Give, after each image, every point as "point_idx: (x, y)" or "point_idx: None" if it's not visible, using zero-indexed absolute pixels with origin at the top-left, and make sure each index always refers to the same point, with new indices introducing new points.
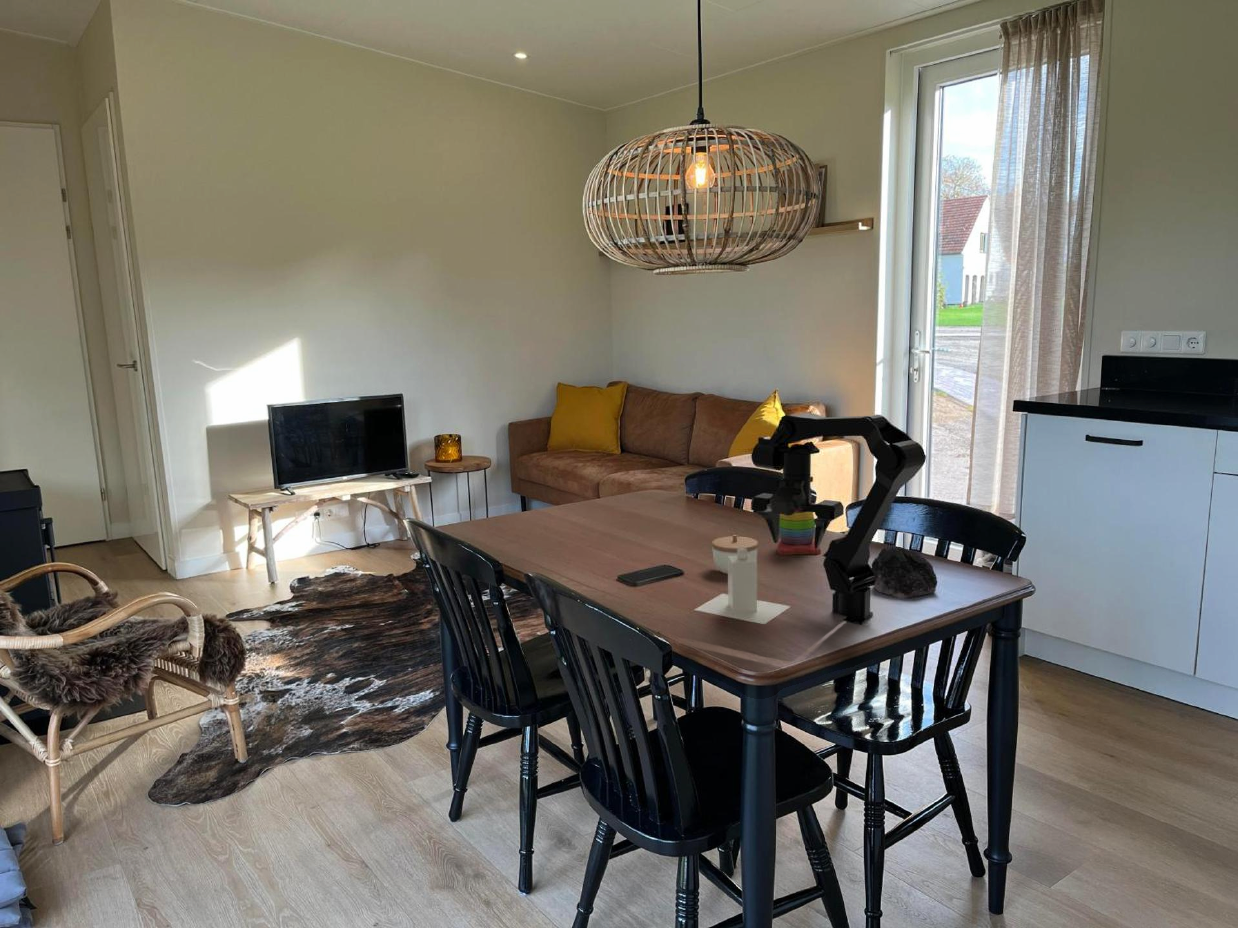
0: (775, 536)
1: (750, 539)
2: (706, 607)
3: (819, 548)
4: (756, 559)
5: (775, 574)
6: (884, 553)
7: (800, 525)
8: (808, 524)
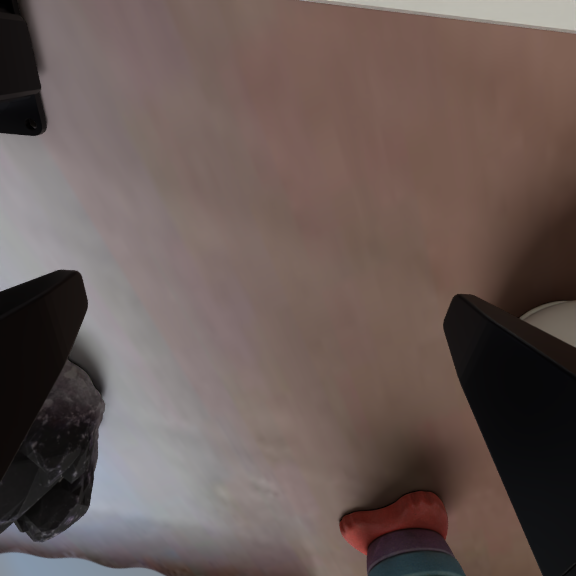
0: (490, 324)
1: None
2: None
3: (343, 534)
4: None
5: (413, 373)
6: (19, 500)
7: None
8: None
